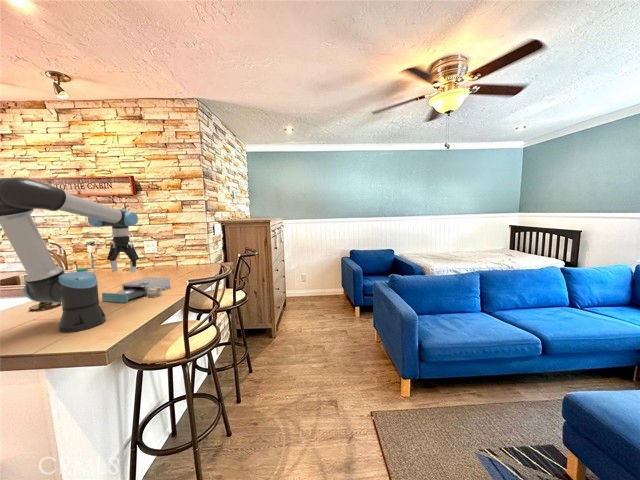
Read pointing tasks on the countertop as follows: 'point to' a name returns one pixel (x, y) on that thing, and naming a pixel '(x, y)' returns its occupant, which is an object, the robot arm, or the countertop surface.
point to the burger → (45, 306)
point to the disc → (127, 291)
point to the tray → (122, 296)
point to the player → (147, 284)
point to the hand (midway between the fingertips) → (124, 271)
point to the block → (154, 292)
